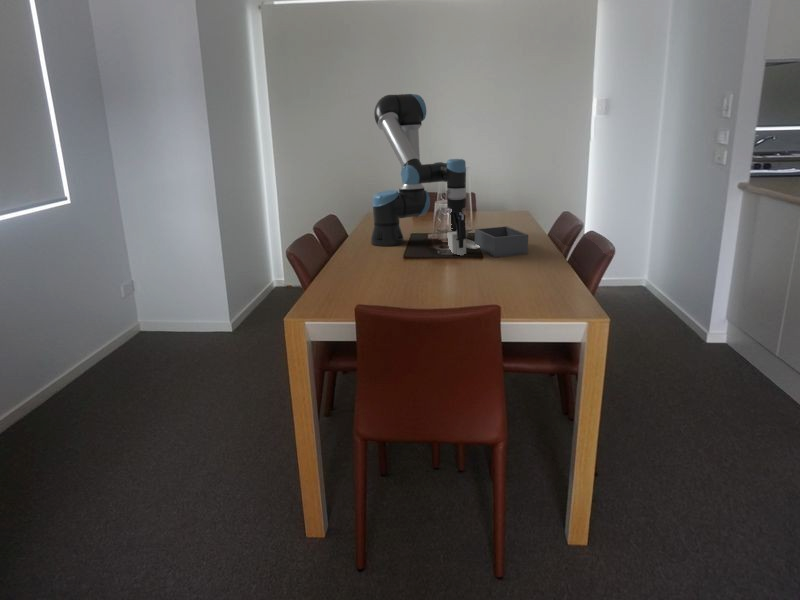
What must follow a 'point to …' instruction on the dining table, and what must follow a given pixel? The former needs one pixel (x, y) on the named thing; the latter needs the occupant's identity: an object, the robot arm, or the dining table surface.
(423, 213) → the robot arm
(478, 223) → the dining table surface
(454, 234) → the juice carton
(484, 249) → the bin
